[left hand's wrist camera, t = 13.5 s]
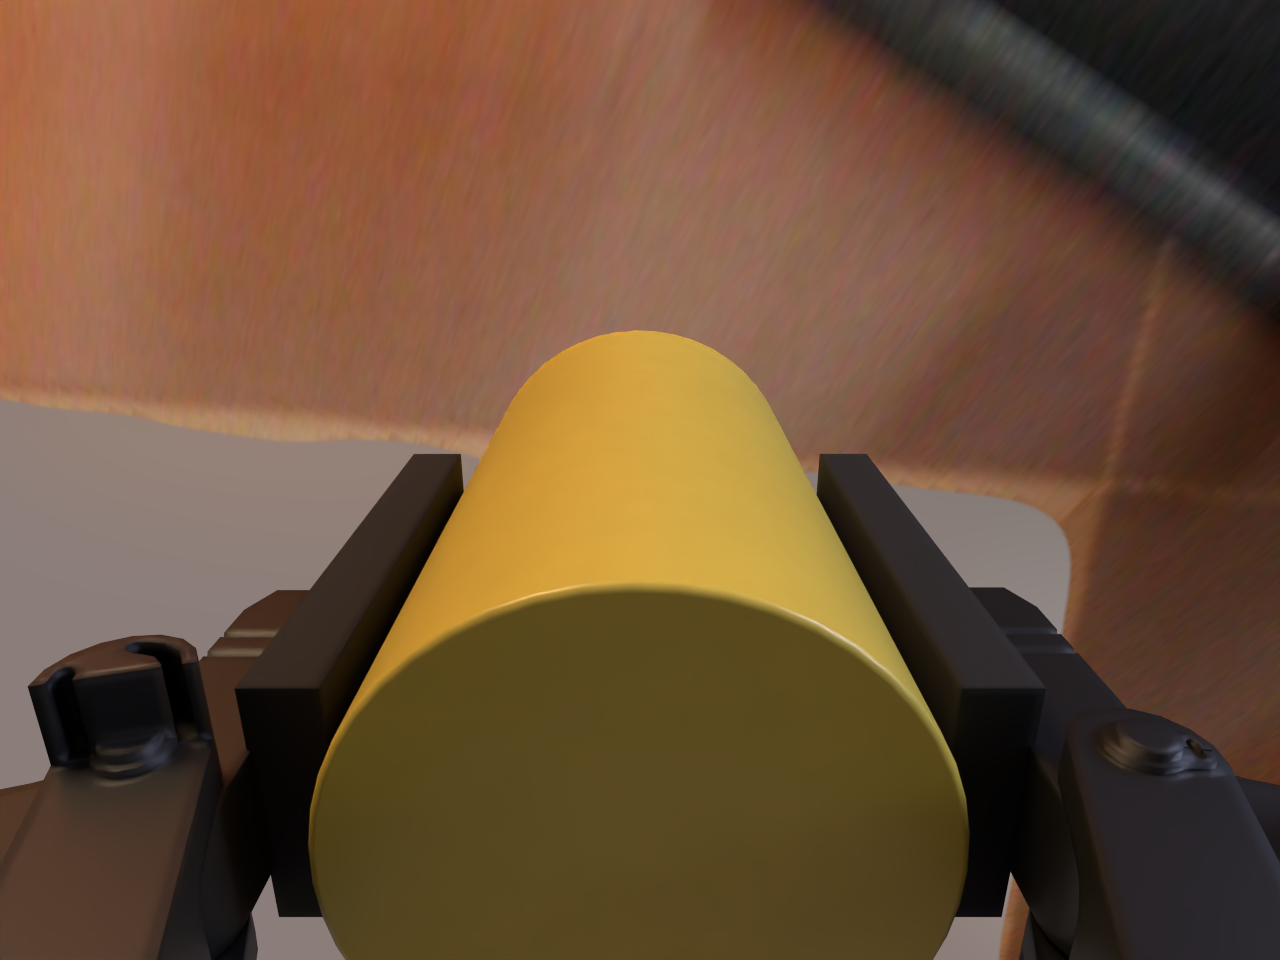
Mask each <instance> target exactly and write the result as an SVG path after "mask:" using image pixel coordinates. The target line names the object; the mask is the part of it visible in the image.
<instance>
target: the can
mask: <svg viewBox="0 0 1280 960" xmlns="http://www.w3.org/2000/svg"><path fill="white" fill-rule="evenodd" d="M969 835H970V831H969V821H968V812H967V803H966V796H965V793H964V789H963V786H962V782H961V779H960V775H959V772H958V768H957V765H956V762H955V760H954V758H953V756H952V754H951V752H950V750H949V747H948V745H947V743H946V741H945V739H944V737H943V735H942V733H941V731H940V729H939V727H938V725H937V723H936V721H935V719H934V717H933V715H932V713H931V712H930V710H929V708H928V706H927V704H926V702H925V700H924V698H923V696H922V694H921V693H920V691H919V689H918V687H917V685H916V683H915V681H914V679H913V677H912V675H911V674H910V672H909V670H908V668H907V666H906V664H905V662H904V660H903V658H902V656H901V655H900V653H899V651H898V649H897V647H896V645H895V643H894V641H893V639H892V637H891V636H890V634H889V632H888V630H887V628H886V626H885V624H884V622H883V620H882V618H881V617H880V615H879V613H878V611H877V609H876V607H875V605H874V603H873V601H872V599H871V598H870V596H869V594H868V592H867V590H866V588H865V586H864V584H863V582H862V580H861V579H860V577H859V575H858V573H857V571H856V569H855V567H854V565H853V563H852V561H851V560H850V558H849V556H848V554H847V552H846V550H845V548H844V546H843V544H842V542H841V541H840V539H839V537H838V535H837V533H836V531H835V529H834V527H833V525H832V523H831V522H830V520H829V518H828V516H827V514H826V512H825V510H824V508H823V506H822V504H821V503H820V501H819V499H818V497H817V495H816V493H815V491H814V489H813V487H812V486H811V484H810V482H809V480H808V478H807V476H806V474H805V472H804V470H803V468H802V467H801V465H800V463H799V461H798V459H797V457H796V455H795V453H794V451H793V449H792V448H791V446H790V444H789V442H788V440H787V438H786V436H785V434H784V432H783V430H782V429H781V427H780V425H779V423H778V421H777V419H776V417H775V415H774V413H773V411H772V410H771V408H770V406H769V404H768V402H767V401H766V399H765V398H764V396H763V395H762V393H761V392H760V390H759V389H758V387H757V386H756V385H755V384H754V383H753V381H752V380H751V379H750V378H749V377H748V376H747V375H746V374H745V373H744V372H743V371H742V370H741V369H740V368H739V367H737V366H736V365H735V364H734V363H733V362H732V361H730V360H729V359H727V358H726V357H724V356H723V355H721V354H720V353H718V352H717V351H715V350H713V349H711V348H709V347H707V346H705V345H703V344H701V343H699V342H696V341H694V340H691V339H687V338H684V337H681V336H678V335H674V334H668V333H662V332H657V331H625V332H615V333H611V334H606V335H602V336H597V337H594V338H591V339H589V340H586V341H583V342H580V343H578V344H576V345H574V346H572V347H570V348H568V349H566V350H564V351H562V352H560V353H559V354H557V355H556V356H555V357H553V358H552V359H550V360H549V361H548V362H546V363H545V364H543V365H542V366H541V367H540V368H539V369H538V370H537V371H536V372H535V373H534V374H533V375H532V376H531V377H530V378H529V379H528V380H527V381H526V383H525V384H524V385H523V386H522V388H521V389H520V390H519V391H518V393H517V394H516V396H515V398H514V399H513V401H512V403H511V404H510V406H509V407H508V409H507V411H506V413H505V415H504V417H503V419H502V421H501V422H500V424H499V426H498V428H497V430H496V432H495V434H494V436H493V438H492V439H491V441H490V443H489V445H488V447H487V449H486V451H485V453H484V455H483V456H482V458H481V460H480V462H479V464H478V466H477V468H476V470H475V472H474V473H473V475H472V477H471V479H470V481H469V483H468V485H467V487H466V489H465V490H464V492H463V494H462V496H461V498H460V500H459V502H458V504H457V505H456V507H455V509H454V511H453V513H452V515H451V517H450V519H449V521H448V522H447V524H446V526H445V528H444V530H443V532H442V534H441V536H440V538H439V539H438V541H437V543H436V545H435V547H434V549H433V551H432V553H431V555H430V556H429V558H428V560H427V562H426V564H425V566H424V568H423V570H422V571H421V573H420V575H419V577H418V579H417V581H416V583H415V585H414V587H413V588H412V590H411V592H410V594H409V596H408V598H407V600H406V602H405V604H404V605H403V607H402V609H401V611H400V613H399V615H398V617H397V619H396V621H395V622H394V624H393V626H392V628H391V630H390V632H389V634H388V636H387V638H386V639H385V641H384V643H383V645H382V647H381V649H380V651H379V653H378V654H377V656H376V658H375V660H374V662H373V664H372V666H371V668H370V670H369V671H368V673H367V675H366V677H365V679H364V681H363V683H362V685H361V687H360V688H359V690H358V692H357V694H356V696H355V698H354V700H353V702H352V704H351V705H350V707H349V709H348V711H347V713H346V715H345V717H344V719H343V720H342V722H341V724H340V726H339V728H338V730H337V732H336V734H335V736H334V737H333V739H332V741H331V744H330V746H329V749H328V751H327V754H326V756H325V758H324V761H323V763H322V766H321V768H320V771H319V773H318V776H317V781H316V785H315V789H314V794H313V798H312V803H311V807H310V820H309V839H308V846H309V856H310V865H311V873H312V882H313V886H314V889H315V893H316V896H317V900H318V903H319V907H320V910H321V914H322V916H323V918H324V921H325V923H326V925H327V927H328V929H329V931H330V933H331V936H332V938H333V940H334V942H335V944H336V946H337V948H338V949H339V951H340V952H341V954H342V955H343V957H344V958H345V960H933V959H934V957H935V955H936V953H937V952H938V950H939V949H940V947H941V945H942V943H943V942H944V940H945V938H946V937H947V934H948V932H949V930H950V927H951V925H952V922H953V920H954V917H955V915H956V912H957V910H958V907H959V905H960V901H961V897H962V892H963V888H964V884H965V879H966V875H967V868H968V852H969Z"/></svg>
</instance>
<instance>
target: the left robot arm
mask: <svg viewBox="0 0 1280 960" xmlns="http://www.w3.org/2000/svg"><path fill="white" fill-rule="evenodd" d="M463 492H464V490H463V477H462V464H461V454H414V455H413V456H412V457H411V459H410V460H409V461H408V463H407V464H406V465H405V467H404V468H403V469H402V470H401V472H400V473H399V474H398V476H397V477H396V478H395V480H394V481H393V482H392V484H391V485H390V486H389V487H388V489H387V490H386V491H385V493H384V494H383V495H382V497H381V498H380V499H379V500H378V502H377V503H376V504H375V506H374V507H373V508H372V510H371V511H370V512H369V514H368V515H367V516H366V517H365V519H364V520H363V521H362V523H361V524H360V525H359V527H358V528H357V529H356V530H355V532H354V533H353V534H352V536H351V537H350V538H349V540H348V541H347V542H346V544H345V545H344V546H343V547H342V549H341V550H340V551H339V553H338V554H337V555H336V557H335V558H334V559H333V560H332V562H331V563H330V564H329V566H328V567H327V568H326V570H325V571H324V572H323V573H322V575H321V576H320V577H319V579H318V580H317V581H316V583H315V584H314V585H313V587H312V588H311V589H310V590H277V591H275V592H274V593H272V594H270V595H269V596H267V597H265V598H263V599H262V600H260V601H258V602H257V603H255V604H253V605H252V606H250V607H248V608H247V609H245V610H244V611H243V612H242V613H241V614H240V615H239V616H238V618H237V619H236V620H235V621H234V622H233V623H232V624H231V626H230V627H229V628H228V629H227V630H226V631H225V633H224V637H220V638H219V639H218V640H217V642H216V643H215V644H214V645H213V646H212V647H211V648H210V649H209V651H208V655H207V657H202V659H201V660H200V661H199V660H198V656H197V651H196V648H195V647H194V646H192V645H191V644H190V643H188V642H187V641H185V640H184V639H181V638H175V637H170V636H165V635H147V636H132V637H127V638H122V639H117V640H113V641H108V642H104V643H100V644H97V645H94V646H92V647H89V648H86V649H84V650H81V651H78V652H76V653H73V654H70V655H69V656H67V657H65V658H63V659H62V660H60V661H58V662H57V663H55V664H53V665H52V666H50V667H48V668H46V669H45V670H44V671H43V672H42V673H41V674H40V675H39V676H38V677H37V678H36V679H35V680H34V681H33V682H32V683H31V684H30V685H29V686H28V689H29V692H30V696H31V699H32V702H33V706H34V709H35V713H36V716H37V720H38V723H39V726H40V730H41V733H42V736H43V740H44V743H45V747H46V750H47V754H48V757H49V760H50V764H51V767H50V769H49V771H48V773H47V774H46V776H45V778H44V780H42V781H39V782H35V783H30V784H25V785H20V786H15V787H10V788H5V789H0V960H256V959H257V951H258V947H257V940H256V932H255V927H254V922H253V918H252V913H251V912H252V910H253V908H254V906H255V904H256V902H257V900H258V898H259V896H260V894H261V892H262V890H263V888H264V887H265V885H266V883H267V881H268V879H269V877H270V875H271V878H272V883H273V888H274V893H275V898H276V904H277V909H278V914H279V917H323V916H322V914H321V910H320V907H319V903H318V900H317V896H316V893H315V889H314V886H313V882H312V873H311V865H310V856H309V846H308V839H309V820H310V807H311V803H312V798H313V794H314V789H315V785H316V781H317V776H318V773H319V771H320V768H321V766H322V763H323V761H324V758H325V756H326V754H327V751H328V749H329V746H330V744H331V741H332V739H333V737H334V736H335V734H336V732H337V730H338V728H339V726H340V724H341V722H342V720H343V719H344V717H345V715H346V713H347V711H348V709H349V707H350V705H351V704H352V702H353V700H354V698H355V696H356V694H357V692H358V690H359V688H360V687H361V685H362V683H363V681H364V679H365V677H366V675H367V673H368V671H369V670H370V668H371V666H372V664H373V662H374V660H375V658H376V656H377V654H378V653H379V651H380V649H381V647H382V645H383V643H384V641H385V639H386V638H387V636H388V634H389V632H390V630H391V628H392V626H393V624H394V622H395V621H396V619H397V617H398V615H399V613H400V611H401V609H402V607H403V605H404V604H405V602H406V600H407V598H408V596H409V594H410V592H411V590H412V588H413V587H414V585H415V583H416V581H417V579H418V577H419V575H420V573H421V571H422V570H423V568H424V566H425V564H426V562H427V560H428V558H429V556H430V555H431V553H432V551H433V549H434V547H435V545H436V543H437V541H438V539H439V538H440V536H441V534H442V532H443V530H444V528H445V526H446V524H447V522H448V521H449V519H450V517H451V515H452V513H453V511H454V509H455V507H456V505H457V504H458V502H459V500H460V498H461V496H462V494H463ZM817 497H818V499H819V501H820V503H821V504H822V506H823V508H824V510H825V512H826V514H827V516H828V518H829V520H830V522H831V523H832V525H833V527H834V529H835V531H836V533H837V535H838V537H839V539H840V541H841V542H842V544H843V546H844V548H845V550H846V552H847V554H848V556H849V558H850V560H851V561H852V563H853V565H854V567H855V569H856V571H857V573H858V575H859V577H860V579H861V580H862V582H863V584H864V586H865V588H866V590H867V592H868V594H869V596H870V598H871V599H872V601H873V603H874V605H875V607H876V609H877V611H878V613H879V615H880V617H881V618H882V620H883V622H884V624H885V626H886V628H887V630H888V632H889V634H890V636H891V637H892V639H893V641H894V643H895V645H896V647H897V649H898V651H899V653H900V655H901V656H902V658H903V660H904V662H905V664H906V666H907V668H908V670H909V672H910V674H911V675H912V677H913V679H914V681H915V683H916V685H917V687H918V689H919V691H920V693H921V694H922V696H923V698H924V700H925V702H926V704H927V706H928V708H929V710H930V712H931V713H932V715H933V717H934V719H935V721H936V723H937V725H938V727H939V729H940V731H941V733H942V735H943V737H944V739H945V741H946V743H947V745H948V747H949V750H950V752H951V754H952V756H953V758H954V760H955V762H956V765H957V768H958V772H959V775H960V779H961V782H962V786H963V789H964V793H965V796H966V803H967V812H968V821H969V831H970V835H969V852H968V868H967V875H966V879H965V884H964V888H963V892H962V897H961V901H960V905H959V907H958V910H957V912H956V915H955V917H1002V912H1003V907H1004V902H1005V896H1006V891H1007V886H1008V881H1009V876H1010V871H1011V873H1012V875H1013V877H1014V879H1015V881H1016V883H1017V885H1018V887H1019V889H1020V891H1021V892H1022V894H1023V896H1024V898H1025V900H1026V902H1027V904H1028V906H1029V913H1028V918H1027V922H1026V927H1025V932H1024V937H1023V941H1022V946H1021V951H1020V956H1019V960H1280V785H1275V784H1270V783H1265V782H1260V781H1255V780H1250V779H1246V778H1242V777H1238V776H1235V775H1234V773H1233V771H1232V769H1231V767H1230V765H1229V764H1228V762H1227V761H1226V760H1225V759H1224V758H1223V756H1222V755H1221V754H1220V753H1219V751H1218V750H1217V749H1216V748H1215V747H1214V746H1213V745H1212V744H1210V743H1209V742H1207V741H1206V740H1205V739H1203V738H1202V737H1200V736H1199V735H1197V734H1196V733H1194V732H1193V731H1192V730H1190V729H1188V728H1186V727H1183V726H1181V725H1179V724H1177V723H1174V722H1172V721H1170V720H1168V719H1165V718H1163V717H1161V716H1157V715H1153V714H1149V713H1145V712H1141V711H1137V710H1133V709H1127V708H1126V707H1125V706H1124V705H1123V704H1122V703H1121V701H1120V700H1119V699H1118V698H1117V697H1116V696H1115V695H1114V694H1113V692H1112V691H1111V690H1110V689H1109V688H1108V687H1107V686H1106V684H1105V683H1104V682H1103V681H1102V680H1101V679H1100V678H1099V677H1098V675H1097V674H1096V673H1095V672H1094V671H1093V670H1092V669H1091V668H1090V666H1089V665H1088V664H1087V663H1086V662H1085V661H1084V660H1083V659H1082V657H1081V656H1080V655H1079V654H1078V653H1074V648H1073V647H1072V646H1071V645H1070V644H1069V643H1068V642H1067V640H1066V639H1065V638H1064V637H1063V636H1062V635H1061V634H1057V629H1056V628H1055V627H1054V626H1053V625H1052V624H1051V622H1050V621H1049V620H1048V619H1047V618H1046V617H1045V616H1044V614H1043V613H1042V612H1041V611H1040V610H1039V609H1038V608H1037V607H1036V606H1034V605H1033V604H1031V603H1029V602H1028V601H1026V600H1024V599H1022V598H1021V597H1019V596H1017V595H1016V594H1014V593H1012V592H1011V591H1009V590H1007V589H1005V588H969V587H968V586H967V584H966V583H965V582H964V581H963V579H962V578H961V577H960V575H959V574H958V573H957V571H956V570H955V569H954V568H953V566H952V565H951V564H950V562H949V561H948V560H947V558H946V557H945V556H944V554H943V553H942V552H941V551H940V549H939V548H938V547H937V545H936V544H935V543H934V541H933V540H932V539H931V537H930V536H929V535H928V534H927V532H926V531H925V530H924V528H923V527H922V526H921V524H920V523H919V522H918V521H917V519H916V518H915V517H914V515H913V514H912V513H911V511H910V510H909V509H908V507H907V506H906V505H905V504H904V502H903V501H902V500H901V498H900V497H899V496H898V494H897V493H896V492H895V491H894V489H893V488H892V487H891V485H890V484H889V483H888V481H887V480H886V479H885V477H884V476H883V475H882V474H881V472H880V471H879V470H878V468H877V467H876V466H875V464H874V463H873V462H872V461H871V459H870V458H869V457H868V455H867V454H820V459H819V472H818V485H817Z"/></svg>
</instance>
